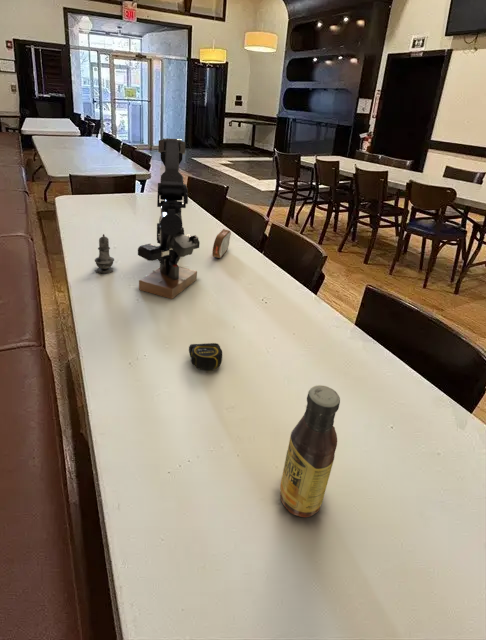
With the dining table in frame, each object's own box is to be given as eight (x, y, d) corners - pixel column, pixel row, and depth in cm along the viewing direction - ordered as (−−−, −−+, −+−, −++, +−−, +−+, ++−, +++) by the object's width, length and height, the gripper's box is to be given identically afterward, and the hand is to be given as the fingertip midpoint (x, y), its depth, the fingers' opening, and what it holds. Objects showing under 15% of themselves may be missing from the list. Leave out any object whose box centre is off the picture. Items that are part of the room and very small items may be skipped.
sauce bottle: (274, 482, 63) (292, 375, 56) (314, 481, 64) (337, 376, 56) (284, 523, 57) (305, 410, 50) (327, 522, 58) (355, 410, 50)
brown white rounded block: (222, 246, 157) (224, 225, 154) (230, 248, 157) (232, 227, 154) (210, 260, 144) (212, 237, 141) (219, 262, 143) (221, 239, 140)
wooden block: (165, 271, 132) (165, 262, 131) (196, 279, 128) (197, 270, 127) (138, 289, 119) (138, 279, 118) (172, 299, 115) (172, 289, 114)
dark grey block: (159, 272, 124) (160, 259, 123) (163, 270, 125) (164, 257, 124) (174, 280, 120) (174, 266, 118) (178, 278, 121) (179, 265, 119)
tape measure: (218, 354, 93) (219, 339, 91) (224, 373, 86) (225, 358, 85) (188, 355, 91) (189, 340, 90) (191, 375, 85) (192, 359, 84)
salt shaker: (117, 267, 132) (116, 232, 128) (110, 275, 127) (109, 238, 122) (99, 265, 132) (97, 230, 128) (91, 272, 127) (90, 236, 123)
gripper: (162, 237, 105) (160, 292, 111) (214, 225, 118) (210, 275, 124) (136, 226, 112) (136, 278, 118) (188, 216, 125) (185, 263, 131)
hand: (169, 273), depth 122 cm, fingers closed on dark grey block, 2 cm apart
